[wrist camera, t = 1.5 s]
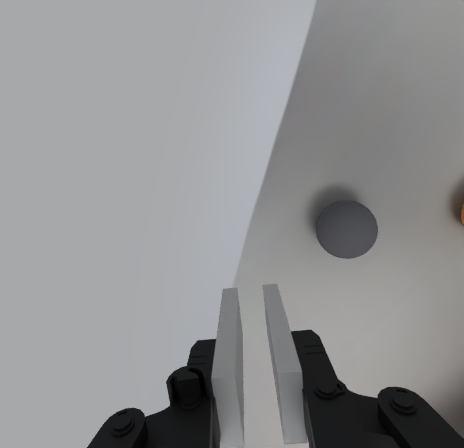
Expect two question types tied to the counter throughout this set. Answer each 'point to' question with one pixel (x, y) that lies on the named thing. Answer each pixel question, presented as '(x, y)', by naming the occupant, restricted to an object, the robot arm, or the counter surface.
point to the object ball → (462, 214)
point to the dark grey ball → (346, 229)
